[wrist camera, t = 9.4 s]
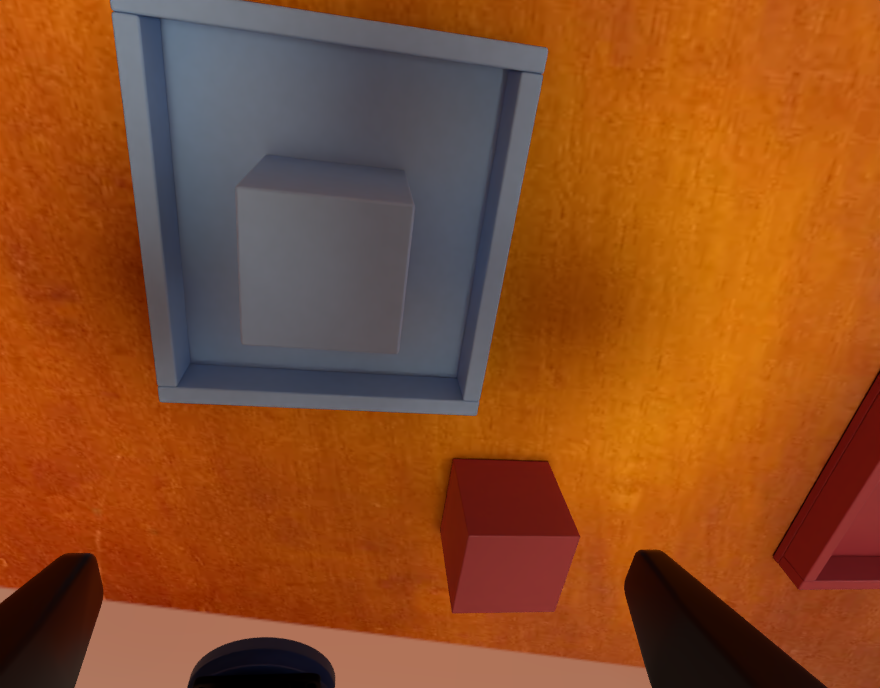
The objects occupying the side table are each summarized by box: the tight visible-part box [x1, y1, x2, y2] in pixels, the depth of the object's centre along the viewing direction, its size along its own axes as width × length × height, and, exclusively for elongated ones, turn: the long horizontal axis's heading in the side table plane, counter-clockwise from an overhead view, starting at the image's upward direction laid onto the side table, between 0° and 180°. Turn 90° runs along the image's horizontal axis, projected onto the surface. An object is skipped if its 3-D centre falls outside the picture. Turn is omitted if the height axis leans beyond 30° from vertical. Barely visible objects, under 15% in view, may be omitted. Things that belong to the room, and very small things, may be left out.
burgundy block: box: [440, 459, 580, 613], centre depth 22 cm, size 4×4×4 cm
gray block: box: [235, 155, 415, 354], centre depth 15 cm, size 4×4×4 cm
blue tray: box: [110, 0, 548, 416], centre depth 16 cm, size 11×10×2 cm
